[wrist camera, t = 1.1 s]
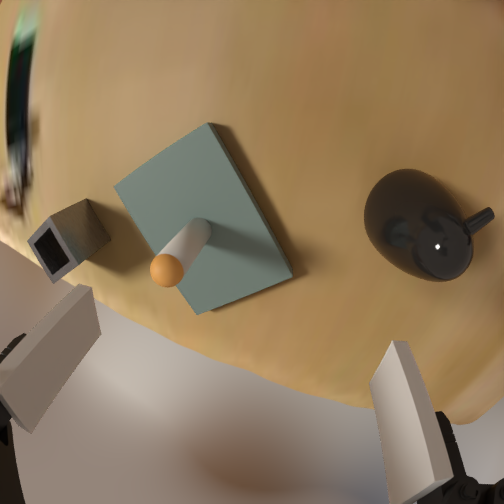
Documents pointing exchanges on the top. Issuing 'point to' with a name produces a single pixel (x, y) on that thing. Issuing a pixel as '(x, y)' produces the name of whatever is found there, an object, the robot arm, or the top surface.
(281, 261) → the keeper
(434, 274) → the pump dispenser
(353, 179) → the top surface
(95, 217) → the grey square sleeve
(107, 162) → the top surface
